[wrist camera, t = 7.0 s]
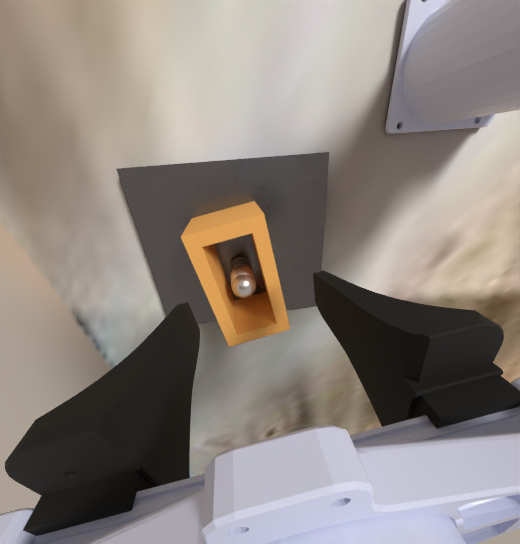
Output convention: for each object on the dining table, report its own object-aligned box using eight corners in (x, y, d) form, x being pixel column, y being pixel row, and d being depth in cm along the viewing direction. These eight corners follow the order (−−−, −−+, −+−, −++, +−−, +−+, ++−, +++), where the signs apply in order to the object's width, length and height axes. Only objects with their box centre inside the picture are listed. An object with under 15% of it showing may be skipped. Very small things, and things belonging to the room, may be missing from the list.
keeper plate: (323, 152, 18) (360, 149, 13) (314, 300, 25) (336, 334, 20) (122, 168, 16) (79, 171, 12) (173, 321, 23) (159, 363, 18)
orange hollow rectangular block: (254, 200, 18) (264, 213, 13) (277, 296, 23) (290, 329, 18) (191, 218, 18) (180, 236, 13) (228, 310, 22) (229, 346, 18)
